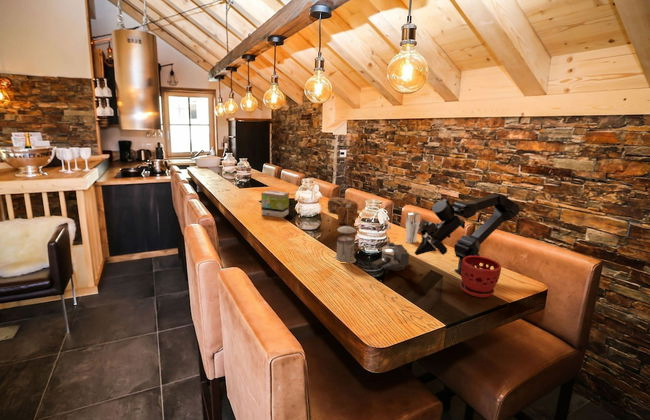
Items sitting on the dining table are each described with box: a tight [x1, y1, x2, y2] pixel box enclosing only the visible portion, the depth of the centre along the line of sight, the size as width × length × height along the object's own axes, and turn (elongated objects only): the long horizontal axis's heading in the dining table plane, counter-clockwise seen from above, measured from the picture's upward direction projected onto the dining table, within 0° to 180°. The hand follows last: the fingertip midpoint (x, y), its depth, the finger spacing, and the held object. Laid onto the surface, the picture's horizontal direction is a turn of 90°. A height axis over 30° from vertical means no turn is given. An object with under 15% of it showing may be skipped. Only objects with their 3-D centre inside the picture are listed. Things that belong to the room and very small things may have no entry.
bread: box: [327, 196, 359, 214], centre depth 240 cm, size 19×11×10 cm, turn 51°
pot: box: [370, 251, 406, 272], centre depth 149 cm, size 23×10×6 cm, turn 139°
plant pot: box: [459, 255, 502, 298], centre depth 129 cm, size 13×13×12 cm
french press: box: [334, 205, 357, 264], centre depth 154 cm, size 10×12×25 cm
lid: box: [381, 242, 410, 267], centre depth 147 cm, size 23×10×5 cm, turn 3°
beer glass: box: [404, 211, 421, 244], centre depth 184 cm, size 7×7×15 cm
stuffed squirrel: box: [336, 202, 360, 227], centre depth 214 cm, size 10×14×13 cm
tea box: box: [260, 189, 290, 218], centre depth 227 cm, size 15×10×15 cm
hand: (415, 254), depth 140 cm, fingers closed
